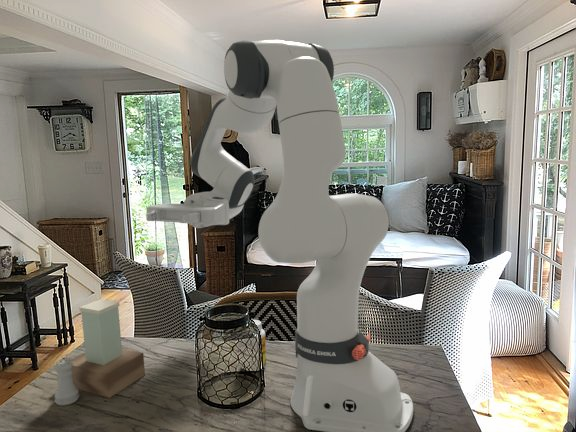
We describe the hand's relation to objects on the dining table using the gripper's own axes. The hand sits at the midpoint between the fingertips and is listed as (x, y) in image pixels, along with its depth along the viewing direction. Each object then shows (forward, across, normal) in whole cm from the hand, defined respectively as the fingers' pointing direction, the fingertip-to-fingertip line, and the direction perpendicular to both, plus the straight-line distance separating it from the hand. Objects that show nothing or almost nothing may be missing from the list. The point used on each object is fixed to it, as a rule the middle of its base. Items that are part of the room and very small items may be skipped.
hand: (164, 218), depth 108 cm
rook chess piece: (+26, -5, +32) cm, 42 cm away
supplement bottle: (0, +22, +32) cm, 39 cm away
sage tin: (+17, -4, +27) cm, 32 cm away
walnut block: (+17, -4, +32) cm, 36 cm away
